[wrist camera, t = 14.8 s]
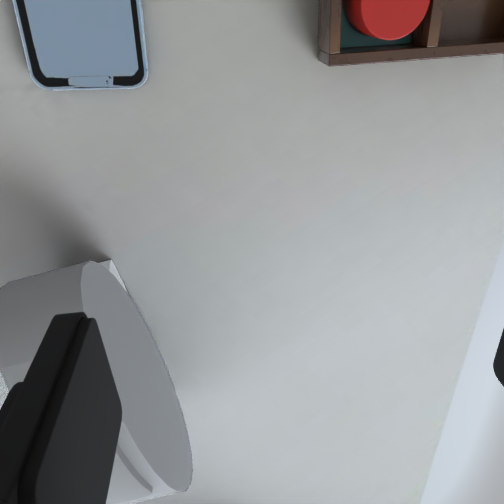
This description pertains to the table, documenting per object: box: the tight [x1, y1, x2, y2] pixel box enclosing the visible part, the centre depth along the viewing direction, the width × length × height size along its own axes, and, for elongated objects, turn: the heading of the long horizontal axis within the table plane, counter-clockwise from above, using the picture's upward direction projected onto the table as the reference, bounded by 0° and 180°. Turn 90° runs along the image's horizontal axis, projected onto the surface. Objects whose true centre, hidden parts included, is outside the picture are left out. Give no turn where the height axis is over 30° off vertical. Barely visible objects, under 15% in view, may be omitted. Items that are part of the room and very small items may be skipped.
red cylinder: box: [344, 0, 430, 40], centre depth 26 cm, size 4×4×4 cm
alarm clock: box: [0, 259, 193, 504], centre depth 35 cm, size 23×6×13 cm, turn 14°
